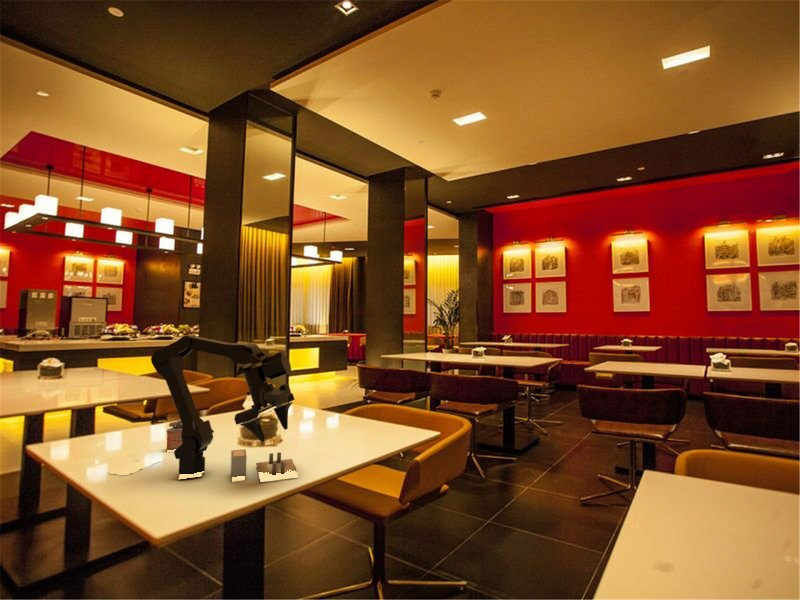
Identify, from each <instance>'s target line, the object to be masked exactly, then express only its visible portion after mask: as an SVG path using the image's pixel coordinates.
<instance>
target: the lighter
mask: <svg viewBox="0 0 800 600" xmlns="http://www.w3.org/2000/svg"><path fill="white" fill-rule="evenodd" d="M168 426H169V427H170V428H168V429H166V449H165V451H166V450H174V449H177V448H178V447H179V446H180V445H182V444H183V443H182V438H181V432H182V422H181V420H180V419H178V420H176V421H172V422H169V423H168ZM171 427H172V428H171Z"/></svg>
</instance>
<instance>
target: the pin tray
mask: <svg viewBox="0 0 800 600" xmlns="http://www.w3.org/2000/svg"><path fill="white" fill-rule="evenodd" d="M268 457H269V458H268V461H262V462H256V463H255V466H256V465H257V469H258V472H263V473H265V472H267V473H268V472H269V474H272V475H276V473H281V474H284V473H285V472H287V470H288V471H289V469H290V470H292V471H294V470H295V471H296V470H297V466H296V465H295V463H294V461H293V459H292V458H287V459H282V452H277V453H276V460H274V453H269V455H268ZM257 469H256V470H257ZM297 471H298V470H297ZM290 472H291V471H290Z"/></svg>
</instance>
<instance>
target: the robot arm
mask: <svg viewBox="0 0 800 600" xmlns="http://www.w3.org/2000/svg"><path fill="white" fill-rule="evenodd" d="M192 351H196V352H197V351H198V352H201V353H202V352H203V353H208V354H211V355H216V356H217V355H218V356H223V357H224V358H227V359H228V360H230V361H232V362H234V363H237V364H238V365H239V366H238V369H237V371H236V373H235V376H240V375H243V376H244V379H245V383H246V385H247V387H248V391H247V392H246V394H247V396H250V397H251V400H252V402H253V403H252V405H250V407H251V408H247V409H245V410H242V411H240V412H238V413H236V414H235V415H234V422H235V425H240V426H241V427H242V426H243V427H245V428H246V430H247V429H248V431H249V432H250V433H252V434H253V435H254V436H255V438H256V439H258V440H259V441H260V442H261V443H263V442H264V443H265V441H266V438H265V434H264V432H263V428H262V425H261V421H262V416H260V414H261V413H264V412H265V411H267V410H270V409H272V408H273V410H274V413H275V415H276V417H277V419H278V420H279V423H280V425H281V426H282V429H284V430H288V429H289V428H288V426H289V425H288V422H289V421H288V420H289V416H288V415H289V410H290V407H291V405H292V404H293V401H295V396H294V394H293V393H292V392H291V388H290V385H289V384H287V383H284V384H282V385H280V387H277V388H275V386H274V384H273V383H269V380H268V379H270V380H274V379H278V378H280V377H283V376H285V375H288V374H291V372H292V366H291V362H290V360H288V358H287V356H285V354H284V352H283V351H280V352H277V353H275V354H273V355H270V356H269V355H268V354H266V353H265V352H263V351H262V350H261V348H260V347H259V345H258V344H257V343H252V342H251V343H250V342H249V343H245V342H243V343H242V342H241V343H240V342H239V343H238V342H237V343H235V342H234V343H232V342H225V341H222V340H217V339H211V338H205V337H202V336H197V335H195V334H189V335H188V334H187V335H184V336H182V337H180V338H178V340H176V341H174V342H172V343H170V344H168V345H167V346H165V347H163V348H159V349H157V350H155V351H154V352H153V353H152V354H151V357H150V361H151V364H152V366H153V368H154V370H155V371H156V373H158V375H159V376H160V377H162V378H163V379H164V380H165V382H166V385H167V387H168V391H169V393H170V395H171V396H170V397H171V398H172V400H173V404H174V406H175V409H176V410H177V411H176V412H177V414H178V417H179V420H181V422H182V432H181V438H182V443H183V444H182V445H180V446H179V447H178V448H177V449H176V450H175V451H174V452H173V454H174V457H175V460H178V475H179V474H194V473H197V472H202V471H206V467H205V466H206V457H205V456H204V452H206V451H207V449H208V447H209V446H210V445H211V443H212V442H213V439H214V432H215V431H214V430H213V428H212V426H211V422H210V420H208V419H207V420H205V421H204V420H203V419H202V418H201V417H200V415H199V413H198V409H197V407H196V405H195V402H194V400H193V397H192V395H191V391H190V389H189V386H188V384H187V381H186V378H185V376H184V367H185V361H184V358H185V357H186V356H188V355H189V354H190V353H191V352H192ZM248 364H250V365H248ZM257 364H261V365H257ZM245 365H248V366H245ZM259 416H260V417H259Z"/></svg>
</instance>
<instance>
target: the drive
mask: <svg viewBox="0 0 800 600" xmlns="http://www.w3.org/2000/svg"><path fill="white" fill-rule="evenodd" d="M246 451H247V449H245V448H244V449H235V450H231V451H230V453H231V454H230V478H231V477H237V476H246V477H247V452H246Z"/></svg>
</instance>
